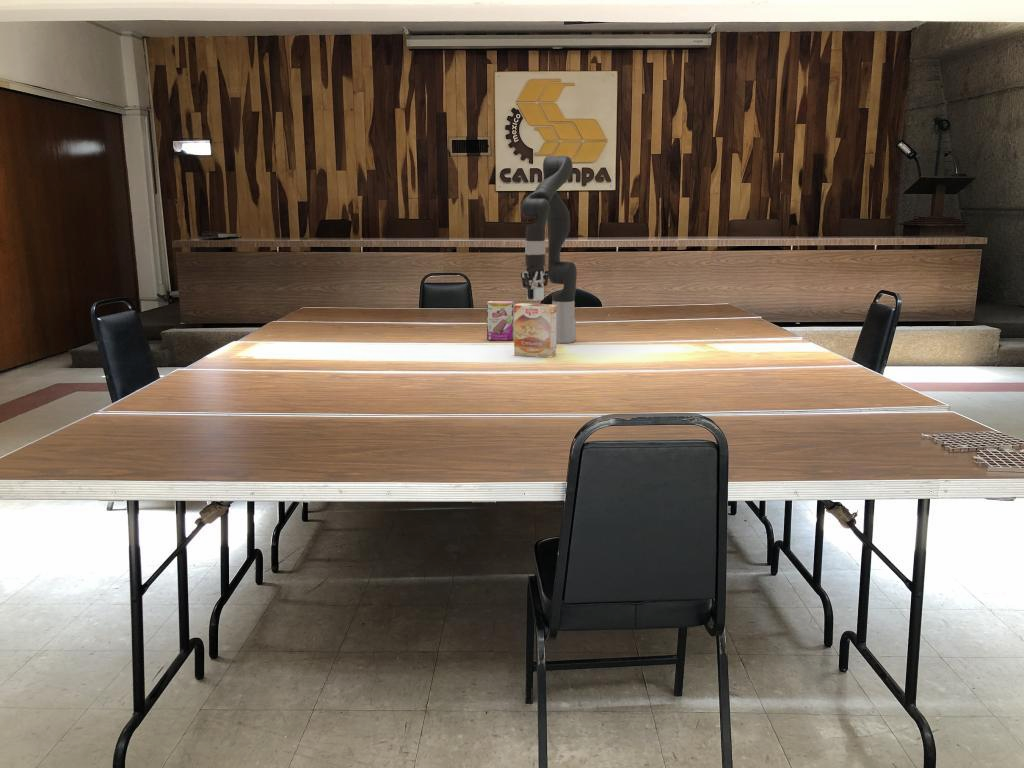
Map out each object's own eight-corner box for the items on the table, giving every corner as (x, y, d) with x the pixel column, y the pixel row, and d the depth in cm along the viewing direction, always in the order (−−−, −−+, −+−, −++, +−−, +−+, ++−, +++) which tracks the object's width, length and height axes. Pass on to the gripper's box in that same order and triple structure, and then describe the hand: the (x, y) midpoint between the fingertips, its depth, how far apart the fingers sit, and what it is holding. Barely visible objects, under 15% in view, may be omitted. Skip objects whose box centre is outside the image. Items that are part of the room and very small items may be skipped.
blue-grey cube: (535, 298, 325) (535, 286, 324) (543, 299, 322) (543, 287, 321) (526, 299, 322) (526, 287, 321) (535, 300, 319) (535, 288, 318)
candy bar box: (486, 341, 359) (486, 302, 355) (488, 339, 363) (487, 300, 360) (513, 341, 357) (513, 302, 354) (514, 339, 362) (514, 301, 359)
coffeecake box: (513, 355, 326) (513, 304, 322) (520, 352, 333) (520, 302, 329) (550, 358, 321) (550, 306, 316) (556, 354, 327) (556, 304, 323)
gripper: (540, 251, 326) (540, 296, 330) (514, 253, 316) (515, 299, 320) (555, 252, 321) (555, 297, 324) (529, 254, 311) (529, 301, 315)
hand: (535, 298), depth 322 cm, fingers closed on blue-grey cube, 4 cm apart
